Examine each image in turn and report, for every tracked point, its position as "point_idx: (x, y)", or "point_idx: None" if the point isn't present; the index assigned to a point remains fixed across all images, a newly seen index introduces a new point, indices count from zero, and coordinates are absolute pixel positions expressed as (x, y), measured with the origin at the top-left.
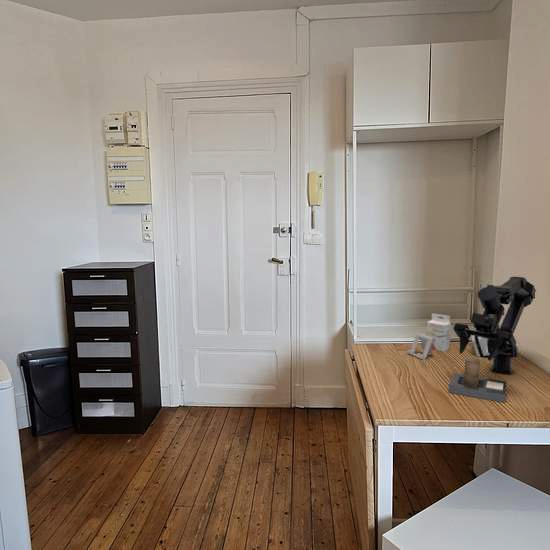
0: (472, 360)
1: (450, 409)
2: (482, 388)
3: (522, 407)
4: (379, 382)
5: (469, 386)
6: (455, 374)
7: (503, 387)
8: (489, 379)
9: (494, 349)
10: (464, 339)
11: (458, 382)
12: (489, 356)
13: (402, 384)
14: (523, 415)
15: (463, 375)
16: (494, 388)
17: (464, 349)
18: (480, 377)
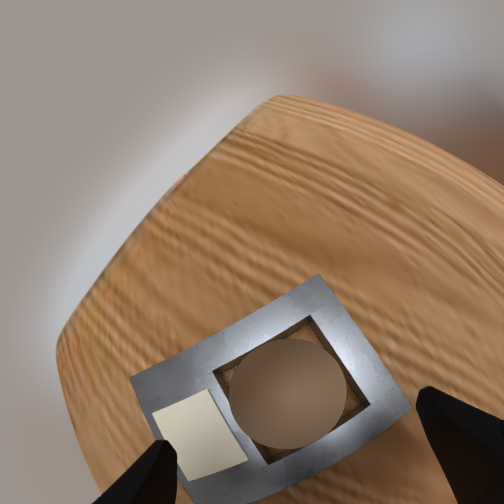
0: (284, 391)
1: (223, 199)
2: (212, 368)
3: (103, 387)
4: (445, 172)
5: (259, 339)
6: (397, 402)
7: None
8: (262, 489)
9: (103, 501)
10: (502, 474)
11: (340, 363)
12: (152, 453)
13: (425, 207)
14: (85, 334)
15: (369, 429)
16: (178, 402)
17: (437, 454)
18: (304, 478)
